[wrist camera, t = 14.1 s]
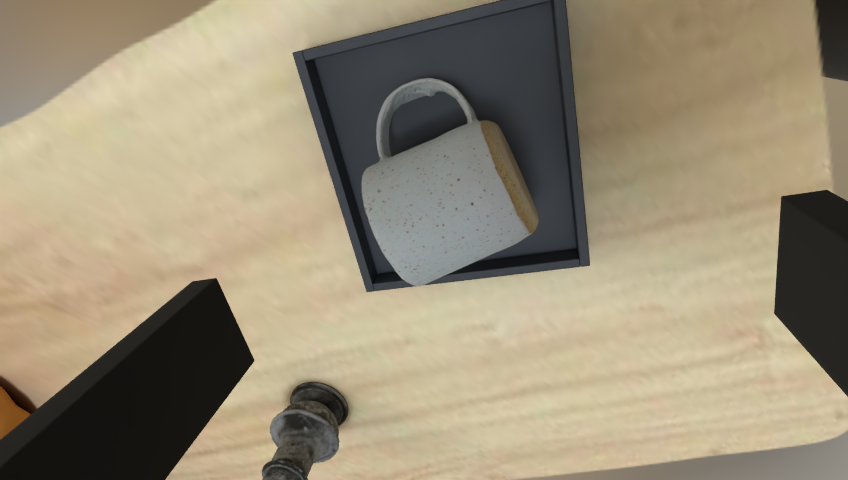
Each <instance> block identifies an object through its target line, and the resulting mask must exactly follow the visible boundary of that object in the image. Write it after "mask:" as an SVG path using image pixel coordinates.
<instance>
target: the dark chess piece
mask: <svg viewBox="0 0 848 480" xmlns="http://www.w3.org/2000/svg"><path fill="white" fill-rule="evenodd" d="M290 403H291V405H290V406H288V407H287V408H286V409H285V410H284V411H283V412H281V413H279V414H278V415H277V416H276V417H275V418H274V419H273V420H272V423H271V425H270V433H271V436H272V439H273V441H274V443H275V444H276V446H277V447H278V449H277V451H276V453H275V455H274V456H273V458H272V460H271V461H270V462H268V463H266V464H265V465H264V467H263V469H262V476H263V480H308V479H307V476H308V474H309V472H310V469H311V467H312V465H313V463H319V462H324V461H326V460H329V459H331V458H332V457H333V456H334V455H335V454H336V452H337V450H338V448H339V438H338V434H339V430H338V426H339V425H341V424H342V423H343V422H344V421H345V419H346V417H347V415H348V406H347V403H346V401H345V399H344V397H343V396H342V395H341V394H340V393H339V392H338V391H336V390H335V389H334V388H332V387H330V386H328V385H325V384H322V383H317V382H308V383H304V384H301V385H299V386H297V387H296V388H295V389H294V391H293V392H292V395H291V399H290Z"/></svg>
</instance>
